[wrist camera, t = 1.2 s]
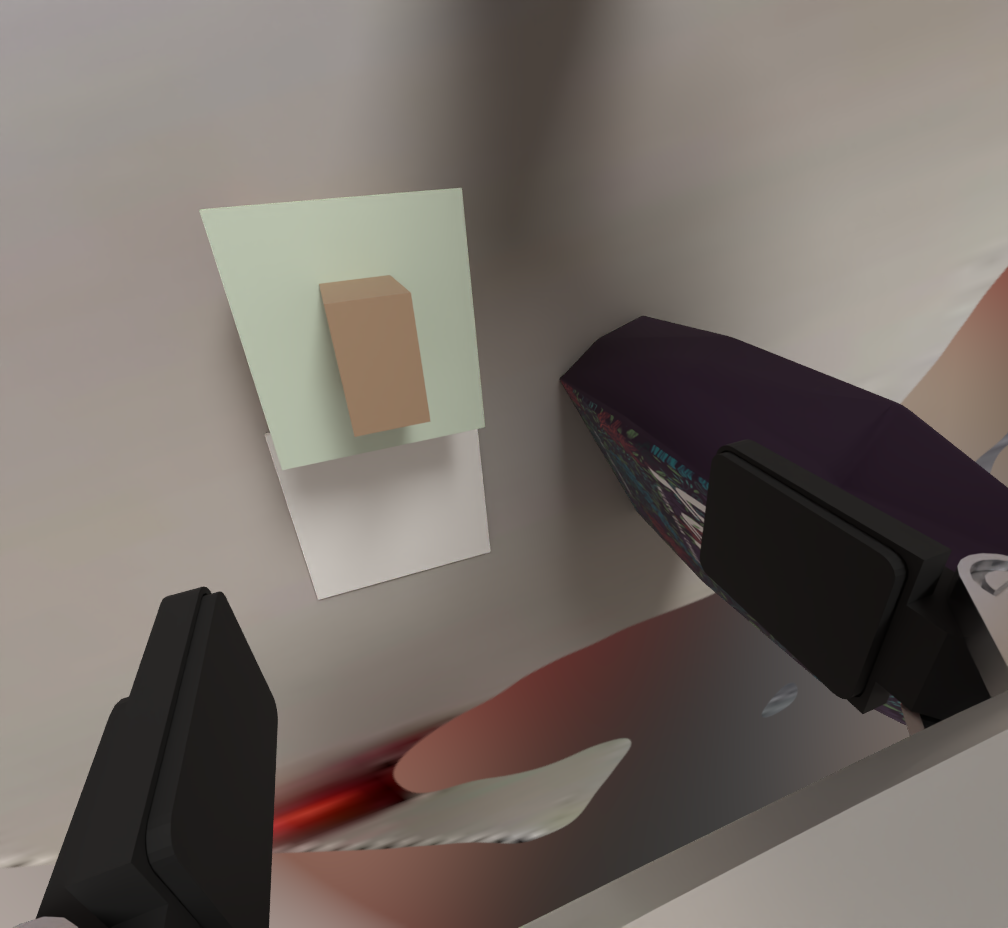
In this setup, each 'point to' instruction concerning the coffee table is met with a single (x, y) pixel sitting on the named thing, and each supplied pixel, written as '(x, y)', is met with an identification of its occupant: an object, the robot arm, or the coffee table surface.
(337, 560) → the mat
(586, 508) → the coffee table surface
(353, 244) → the lid
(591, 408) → the dark patterned coffee bag
